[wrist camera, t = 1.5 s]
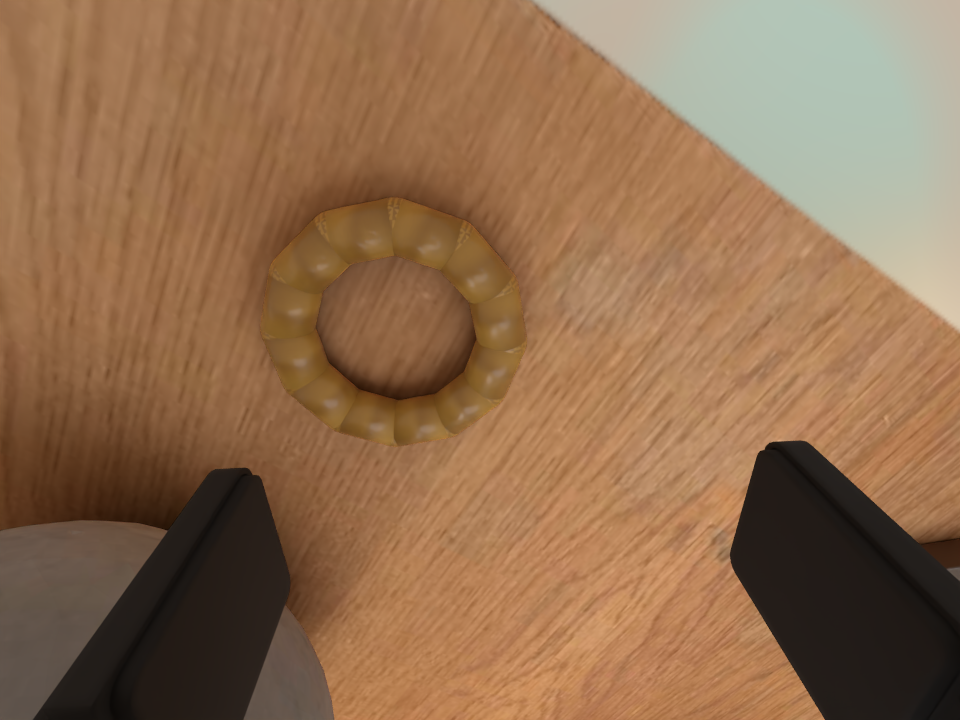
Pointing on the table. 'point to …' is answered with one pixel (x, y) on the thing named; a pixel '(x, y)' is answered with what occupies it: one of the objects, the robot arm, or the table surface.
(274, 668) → the bowl
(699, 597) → the table surface
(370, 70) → the table surface
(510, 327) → the ring
